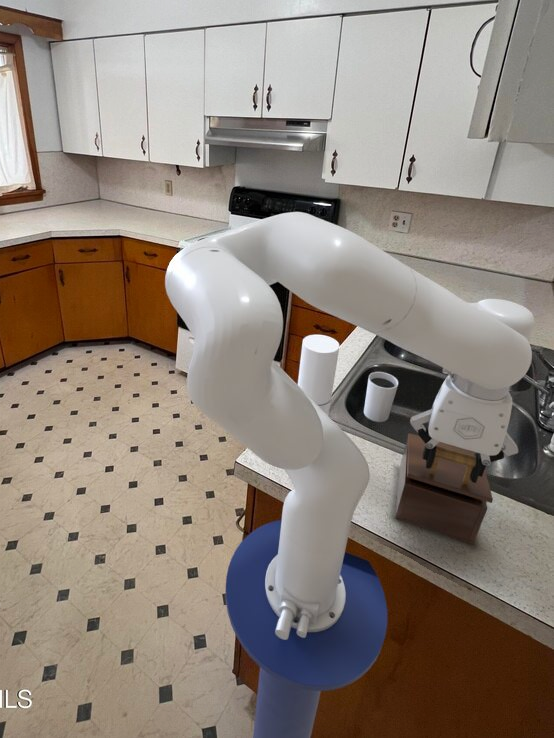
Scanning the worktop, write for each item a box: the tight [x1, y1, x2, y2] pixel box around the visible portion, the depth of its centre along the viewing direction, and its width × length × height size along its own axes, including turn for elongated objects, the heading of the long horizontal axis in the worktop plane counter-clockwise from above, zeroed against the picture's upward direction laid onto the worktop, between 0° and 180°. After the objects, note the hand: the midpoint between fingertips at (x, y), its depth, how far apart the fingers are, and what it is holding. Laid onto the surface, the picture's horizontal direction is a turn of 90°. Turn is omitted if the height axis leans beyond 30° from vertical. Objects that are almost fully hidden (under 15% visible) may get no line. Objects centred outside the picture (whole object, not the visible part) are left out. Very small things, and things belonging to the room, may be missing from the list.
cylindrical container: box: [297, 334, 340, 417], centre depth 89 cm, size 7×7×25 cm
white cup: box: [363, 371, 399, 423], centre depth 101 cm, size 7×7×10 cm
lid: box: [407, 432, 494, 504], centre depth 74 cm, size 13×13×6 cm
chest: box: [394, 437, 488, 545], centre depth 78 cm, size 13×13×9 cm
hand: (450, 468), depth 71 cm, fingers closed on lid, 6 cm apart
